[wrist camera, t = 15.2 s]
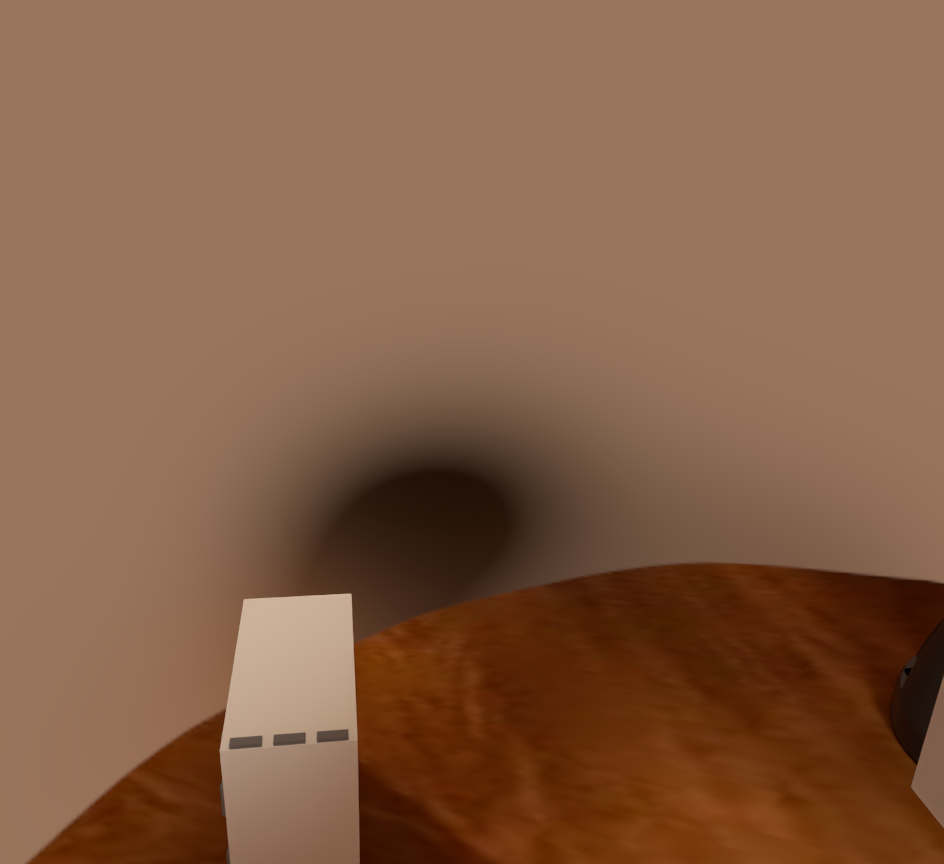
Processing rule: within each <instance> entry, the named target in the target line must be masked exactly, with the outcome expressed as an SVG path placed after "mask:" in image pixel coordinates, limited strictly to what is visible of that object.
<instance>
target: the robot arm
mask: <svg viewBox="0 0 944 864" xmlns="http://www.w3.org/2000/svg"><path fill="white" fill-rule="evenodd" d="M890 719H891V723H892V726H893V729H894V731H895V733H896V735H897V737H898V739H899V741H900V742H901V744H902V745H903V747H904V748H905V749H906V751H907V752H908V753H909V754H910V756H911V757H912V758H913V759H914V760H915V761H916V762H917V763H918V765H917V768H916V771H915V775H914V778H913V782H912V785H911V788H912V789H913V791H914V792H915V793H916V794H917V795H918V797H919V798H920V799H921V800H922V802H923V803H924V804H925V805H926V807H927V808H928V809H929V810H930V811H931V813H932V814H933V815H934V816H935V818H936V819H937V820H938V821H939V823H940V824H941V825H942V826H943V828H944V618H943V619H942V621H941V622H940V623H939V624H938V625H937V627H936V628H935V629H934V630H933V632H932V633H931V634H930V635H929V637H928V638H927V639H926V641H925V642H924V643H923V645H922V646H921V648H920V649H919V651H918V653H917V655H916V656H914V657H913V658H912V659H911V660H909V661H908V663H907V664H906V665H905V666H904V667H903V669H902V670H901V672H900V674H899V676H898V678H897V682H896V685H895V689H894V693H893V696H892V700H891V704H890Z"/></svg>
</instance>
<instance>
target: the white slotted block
mask: <svg viewBox="0 0 944 864" xmlns="http://www.w3.org/2000/svg"><path fill="white" fill-rule="evenodd" d="M351 599H352V598H351V594H336V595H316V596H298V597H279V598H260V599H244V603H243V609H242V615H241V621H240V628H239V634H238V640H237V646H236V652H235V659H234V665H233V671H232V677H231V684H230V690H229V696H228V703H227V709H226V715H225V721H224V727H223V734H222V740H221V746H220V760H221V770H222V781H221V786H220V794H221V804H222V815H223V816H226V823H227V833H228V844H229V846H228V847H227V855H226V856H227V864H360V845H359V791H358V739H357V715H356V692H355V666H354V645H353V622H352V600H351Z"/></svg>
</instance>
